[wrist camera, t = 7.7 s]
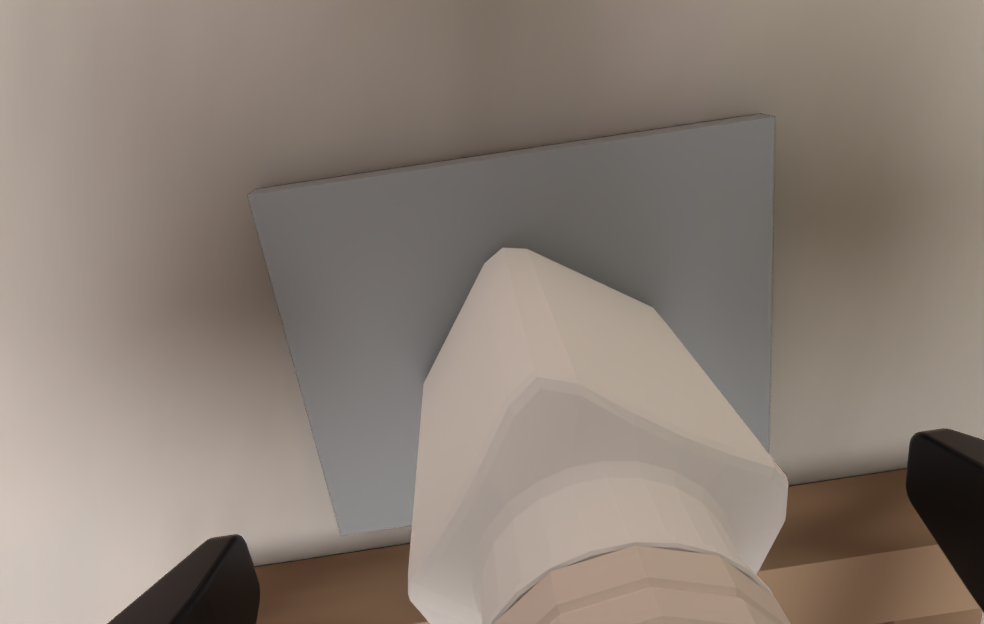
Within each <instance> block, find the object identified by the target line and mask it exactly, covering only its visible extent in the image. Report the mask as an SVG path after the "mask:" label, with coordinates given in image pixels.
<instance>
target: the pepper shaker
mask: <svg viewBox="0 0 984 624" xmlns="http://www.w3.org/2000/svg"><path fill="white" fill-rule="evenodd" d="M788 484H789V483H788V479H787V476H786V475H785V473H784V472H783V471H782V470H781V468H780V467H779V466H778V465H777V463H776V462H775V461H774V460H773V458H772V457H771V456H770V454H769V453H768V452H767V451H766V449H765V448H764V447H763V446H762V444H761V443H760V442H759V440H758V439H757V438H756V437H755V435H754V434H753V433H752V432H751V430H750V429H749V428H748V426H747V425H746V424H745V423H744V421H743V420H742V419H741V418H740V416H739V415H738V414H737V413H736V411H735V410H734V409H733V407H732V406H731V405H730V404H729V402H728V401H727V400H726V399H725V397H724V396H723V395H722V393H721V392H720V391H719V390H718V388H717V387H716V386H715V385H714V383H713V382H712V381H711V380H710V378H709V377H708V376H707V374H706V373H705V372H704V371H703V369H702V368H701V367H700V366H699V364H698V363H697V362H696V360H695V359H694V358H693V357H692V355H691V354H690V353H689V352H688V350H687V349H686V348H685V346H684V345H683V344H682V343H681V341H680V340H679V339H678V338H677V336H676V335H675V334H674V333H673V331H672V330H671V329H670V327H669V326H668V325H667V324H666V322H665V321H664V320H663V319H662V318H661V317H660V315H659V314H658V313H657V312H656V311H655V309H654V308H653V307H651V306H649V305H646V304H644V303H642V302H640V301H638V300H636V299H634V298H631V297H629V296H627V295H625V294H623V293H621V292H619V291H616V290H614V289H612V288H610V287H608V286H606V285H604V284H601V283H599V282H597V281H595V280H593V279H591V278H589V277H587V276H584V275H582V274H580V273H578V272H576V271H574V270H572V269H569V268H567V267H565V266H563V265H561V264H559V263H557V262H554V261H552V260H550V259H548V258H546V257H544V256H541V255H539V254H537V253H535V252H533V251H531V250H529V249H522V248H502V249H500V250H499V251H498V252H497V253H496V254H495V255H494V256H492V257H491V258H490V259H489V260H488V261H487V262H485V263H484V265H483V267H482V269H481V271H480V273H479V275H478V277H477V279H476V281H475V283H474V285H473V287H472V289H471V291H470V293H469V295H468V297H467V299H466V301H465V303H464V305H463V307H462V309H461V311H460V313H459V314H458V316H457V318H456V320H455V322H454V324H453V326H452V328H451V330H450V332H449V334H448V336H447V338H446V340H445V342H444V344H443V346H442V348H441V350H440V352H439V354H438V356H437V358H436V360H435V362H434V364H433V366H432V368H431V370H430V372H429V374H428V376H427V378H426V380H425V382H424V384H423V396H422V408H421V420H420V432H419V445H418V457H417V469H416V481H415V493H414V506H413V518H412V530H411V542H410V554H409V567H408V596H409V599H410V601H411V602H412V603H413V605H414V606H415V607H416V608H417V609H418V610H419V611H420V613H421V614H422V615H423V616H424V617H425V618H426V620H427V621H428V622H429V623H430V624H790V622H789V620H788V618H787V617H786V615H785V613H784V612H783V610H782V608H781V607H780V605H779V603H778V601H777V600H776V598H775V597H774V595H773V593H772V592H771V590H770V588H769V587H768V586H767V585H766V584H765V583H764V582H763V581H762V580H761V579H760V578H759V577H758V576H757V575H756V574H757V572H758V571H759V569H760V567H761V565H762V564H763V562H764V560H765V558H766V556H767V554H768V552H769V550H770V548H771V547H772V545H773V543H774V541H775V539H776V537H777V535H778V533H779V531H780V530H781V528H782V526H783V524H784V522H785V519H786V507H787V496H788Z"/></svg>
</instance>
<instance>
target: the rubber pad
mask: <svg viewBox="0 0 984 624" xmlns="http://www.w3.org/2000/svg"><path fill="white" fill-rule="evenodd" d="M774 142H775V116H770V115H765V114H756V115H749V116H742V117H736V118H729V119H722V120H716V121H709V122H702V123H695V124H689V125H682V126H675V127H669V128H662V129H655V130H649V131H642V132H635V133H629V134H622V135H615V136H608V137H602V138H595V139H588V140H582V141H575V142H568V143H562V144H555V145H548V146H541V147H535V148H528V149H521V150H515V151H508V152H501V153H495V154H488V155H481V156H474V157H468V158H461V159H454V160H448V161H441V162H434V163H428V164H421V165H414V166H407V167H401V168H394V169H387V170H381V171H374V172H367V173H361V174H354V175H347V176H341V177H334V178H327V179H320V180H314V181H307V182H300V183H294V184H287V185H280V186H274V187H267V188H260V189H255V190H254V191H252V192H251V193H250V194H248V195H247V197H248V201H249V204H250V208H251V212H252V215H253V219H254V223H255V226H256V230H257V233H258V237H259V241H260V244H261V248H262V252H263V255H264V259H265V262H266V266H267V270H268V273H269V277H270V281H271V284H272V288H273V292H274V295H275V299H276V302H277V306H278V310H279V313H280V317H281V321H282V324H283V328H284V331H285V335H286V339H287V342H288V346H289V350H290V353H291V357H292V361H293V364H294V368H295V371H296V375H297V379H298V382H299V386H300V390H301V393H302V397H303V400H304V404H305V408H306V411H307V415H308V419H309V422H310V426H311V430H312V433H313V437H314V440H315V444H316V448H317V451H318V455H319V459H320V462H321V466H322V469H323V473H324V477H325V480H326V484H327V488H328V491H329V495H330V499H331V502H332V506H333V509H334V513H335V517H336V520H337V524H338V528H339V531H340V535H341V536H346V535H353V534H360V533H366V532H373V531H379V530H386V529H393V528H399V527H406V526H412V518H413V506H414V493H415V481H416V469H417V457H418V445H419V432H420V420H421V408H422V396H423V384H424V382H425V380H426V378H427V376H428V374H429V372H430V370H431V368H432V366H433V364H434V362H435V360H436V358H437V356H438V354H439V352H440V350H441V348H442V346H443V344H444V342H445V340H446V338H447V336H448V334H449V332H450V330H451V328H452V326H453V324H454V322H455V320H456V318H457V316H458V314H459V313H460V311H461V309H462V307H463V305H464V303H465V301H466V299H467V297H468V295H469V293H470V291H471V289H472V287H473V285H474V283H475V281H476V279H477V277H478V275H479V273H480V271H481V269H482V267H483V265H484V263H485V262H487V261H488V260H489V259H490V258H491V257H492V256H494V255H495V254H496V253H497V252H498V251H499V250H500V249H502V248H522V249H529V250H531V251H533V252H535V253H537V254H539V255H541V256H544V257H546V258H548V259H550V260H552V261H554V262H557V263H559V264H561V265H563V266H565V267H567V268H569V269H572V270H574V271H576V272H578V273H580V274H582V275H584V276H587V277H589V278H591V279H593V280H595V281H597V282H599V283H601V284H604V285H606V286H608V287H610V288H612V289H614V290H616V291H619V292H621V293H623V294H625V295H627V296H629V297H631V298H634V299H636V300H638V301H640V302H642V303H644V304H646V305H649V306H651V307H653V308H654V309H655V311H656V312H657V313H658V314H659V315H660V317H661V318H662V319H663V320H664V321H665V322H666V324H667V325H668V326H669V327H670V329H671V330H672V331H673V333H674V334H675V335H676V336H677V338H678V339H679V340H680V341H681V343H682V344H683V345H684V346H685V348H686V349H687V350H688V352H689V353H690V354H691V355H692V357H693V358H694V359H695V360H696V362H697V363H698V364H699V366H700V367H701V368H702V369H703V371H704V372H705V373H706V374H707V376H708V377H709V378H710V380H711V381H712V382H713V383H714V385H715V386H716V387H717V388H718V390H719V391H720V392H721V393H722V395H723V396H724V397H725V399H726V400H727V401H728V402H729V404H730V405H731V406H732V407H733V409H734V410H735V411H736V413H737V414H738V415H739V416H740V418H741V419H742V420H743V421H744V423H745V424H746V425H747V426H748V428H749V429H750V430H751V432H752V433H753V434H754V435H755V437H756V438H757V439H758V440H759V442H760V443H761V444H762V446H763V447H764V448H765V449H766V451H767V452H768V453H769V432H770V374H771V316H772V258H773V200H774Z"/></svg>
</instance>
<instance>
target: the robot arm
mask: <svg viewBox="0 0 984 624" xmlns="http://www.w3.org/2000/svg"><path fill="white" fill-rule="evenodd" d="M905 486H906V492H907V496H908V498H909V500H910V502H911V504H912V506H913V507H914V509H915V510H916V512H917V513H918V515H919V516H920V518H921V519H922V521H923V523H924V524H925V526H926V527H927V529H928V530H929V532H930V533H931V535H932V536H933V538H934V539H935V541H936V542H937V544H938V546H939V547H940V549H941V550H942V552H943V553H944V555H945V556H946V558H947V559H948V561H949V562H950V564H951V565H952V567H953V569H954V570H955V572H956V573H957V575H958V576H959V578H960V579H961V581H962V582H963V584H964V585H965V587H966V588H967V590H968V591H969V593H970V594H971V595H972V597H973V598H974V600H975V601H976V603H977V604H978V605H979V607H980V608H981V609H982V611H983V612H984V440H982V439H979V438H976V437H973V436H970V435H967V434H964V433H960V432H957V431H954V430H951V429H936V430H929V431H923V432H918V433H916V434H915V435H913V436H912V438H911V440H910V445H909V454H908V463H907V472H906V481H905ZM259 604H260V584H259V580H258V577H257V574H256V571H255V568H254V565H253V562H252V559H251V556H250V553H249V550H248V547H247V544H246V542H245V540H244V539H243V537H242V536H240V535H237V534H234V535H228V536H221V537H214V538H210V539H208V540H207V541H205V542H204V543H203V544H202V545H200V546H199V547H198V548H197V549H196V550H195V551H193V552H192V553H191V554H190V555H189V556H187V557H186V558H185V559H184V560H183V561H181V562H180V563H179V564H178V565H177V566H175V567H174V568H173V569H172V570H171V571H170V572H168V573H167V574H166V575H165V576H164V577H162V578H161V579H160V580H159V581H158V582H156V583H155V584H154V585H153V586H152V587H150V588H149V589H148V590H147V591H146V592H145V593H143V594H142V595H141V596H140V597H139V598H137V599H136V600H135V601H134V602H133V603H131V604H130V605H129V606H128V607H127V608H125V609H124V610H123V611H122V612H121V613H120V614H118V615H117V616H116V617H115V618H114V619H112V620H111V621H110V622H109V623H108V624H256V622H257V616H258V610H259Z"/></svg>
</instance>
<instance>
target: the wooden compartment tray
mask: <svg viewBox="0 0 984 624" xmlns="http://www.w3.org/2000/svg"><path fill="white" fill-rule="evenodd" d="M906 472H907V469H903V470H896V471H890V472H883V473H876V474H870V475H863V476H856V477H850V478H843V479H837V480H830V481H823V482H817V483H810V484H803V485H797V486H790V487H788V496H787V507H786V519H785V522H784V524H783V526H782V528H781V530H780V531H779V533H778V535H777V537H776V539H775V541H774V543H773V545H772V547H771V548H770V550H769V552H768V554H767V556H766V558H765V560H764V562H763V564H762V565H761V567H760V569H759V571H758V572H757V574H756V575H757V576H758V577H759V578H760V579H761V580H762V581H763V582H764V583H765V584H766V585H767V586H768V587H769V588H770V590H771V592H772V593H773V595H774V597H775V598H776V600H777V601H778V603H779V605H780V607H781V608H782V610H783V612H784V613H785V615H786V617H787V618H788V620H789V622H790V624H980V622H981V616H982V609H981V608H980V607H979V605H978V604H977V603H976V601H975V600H974V598H973V597H972V595H971V594H970V593H969V591H968V590H967V588H966V587H965V585H964V584H963V582H962V581H961V579H960V578H959V576H958V575H957V573H956V572H955V570H954V569H953V567H952V565H951V564H950V562H949V561H948V559H947V558H946V556H945V555H944V553H943V552H942V550H941V549H940V547H939V546H938V544H937V542H936V541H935V539H934V538H933V536H932V535H931V533H930V532H929V530H928V529H927V527H926V526H925V524H924V523H923V521H922V519H921V518H920V516H919V515H918V513H917V512H916V510H915V509H914V507H913V506H912V504H911V502H910V500H909V498H908V496H907V492H906V486H905V481H906ZM409 554H410V544H406V545H399V546H393V547H386V548H379V549H373V550H366V551H360V552H353V553H346V554H340V555H333V556H326V557H320V558H313V559H307V560H300V561H293V562H287V563H280V564H273V565H267V566H260V567H254V568H255V571H256V574H257V577H258V580H259V584H260V604H259V610H258V616H257V622H256V624H430V623H429V622H428V621H427V620H426V618H425V617H424V616H423V615H422V614H421V613H420V611H419V610H418V609H417V608H416V607H415V606H414V605H413V603H412V602H411V601H410V599H409V596H408V567H409Z"/></svg>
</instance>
